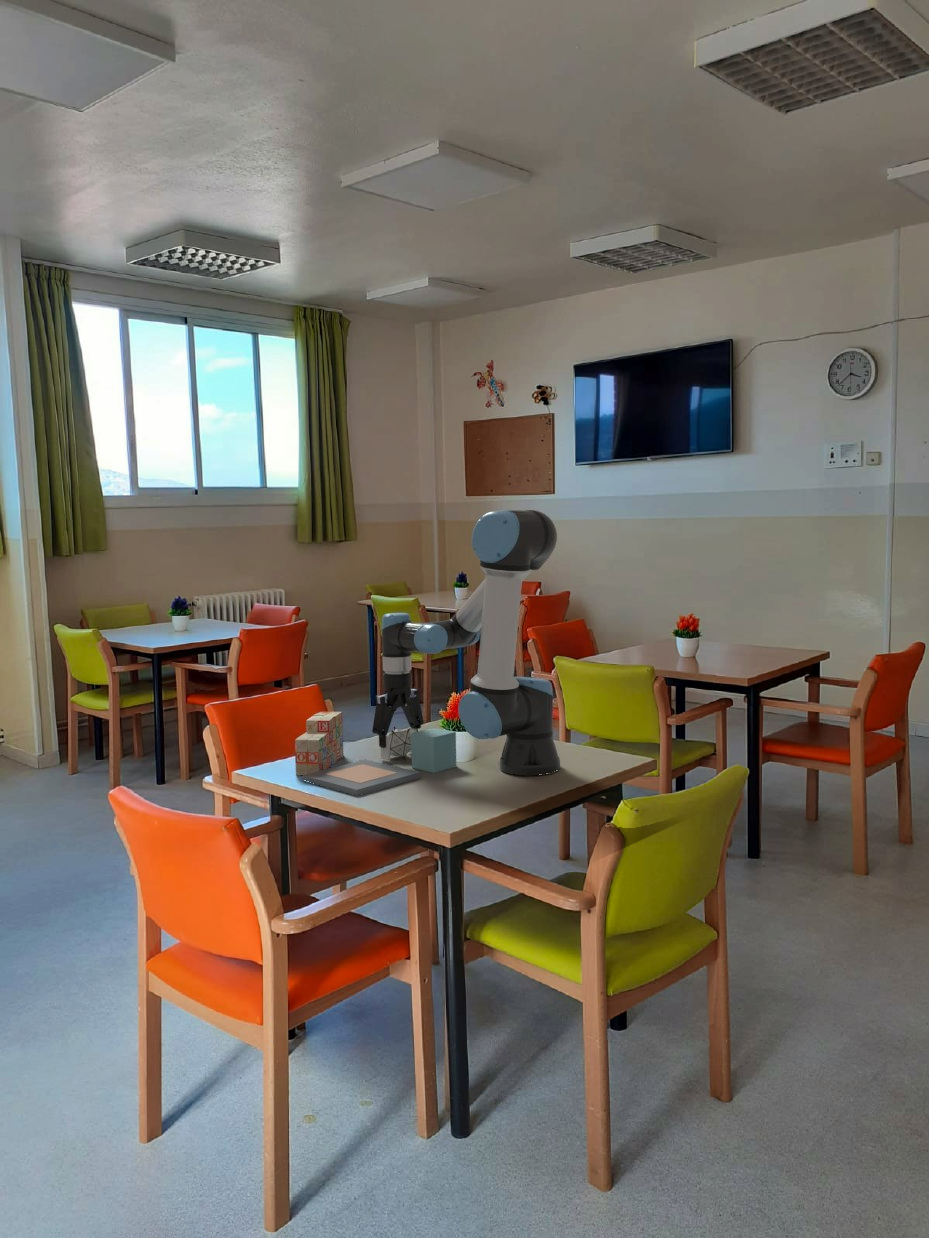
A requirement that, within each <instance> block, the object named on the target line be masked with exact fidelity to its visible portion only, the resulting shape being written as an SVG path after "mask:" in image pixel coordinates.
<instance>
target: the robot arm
mask: <svg viewBox="0 0 929 1238" xmlns="http://www.w3.org/2000/svg"><path fill="white" fill-rule="evenodd" d="M557 541H558V533H557V528H556V526H555V523H554V522H553V520H552V519H551V518H550V517H549V516H548V515H547V514H545V513H543V512H542V511H539V510H534V509H527V510H526V509H525V510H520V509H519V510H514V509H510V510H509V509H508V510H507V509H500V510H492V511H490V512H487V513H484V514H483V515H482V516H481V517H480V518H479V519H478V520H477V522H476V524H475V525H474V527H473V530H472V534H471V546H472V550H473V551H474V555H475V556H476V557H477V558H478V559H479V560H480V561H479V568H480V569H481V571H483V573H484V574H485V576H484V577H485V578H484V580H482V582H481V583H480V584H479V585H478V586H477V588H476V589H475V590H474V591H473V593H472V594H471V595H470V596H469V598H467V600H466V601H465V602H464V603H463V604H462V605H461V607H460V608H459V609H458V611H456V612H455V614H454V615H453V616H452V617H451V618H450V619H445V620H438V621H431V622H430V621H428V622H412V619H411V615H410V613H407V612H389V613H385V614H383V615H382V618H381V630H380V631H381V643H382V644H381V645H382V670H383V674H382V676H383V677H382V684H383V688H384V693H383V694H382V695H375V698H374V699H375V709H374V710H375V711H374V717H373V723H372V733H373V734H375V735H378V746H379V748H380V759H382V760H386V761H390V760H391V755H390V735H389V734H388V732H389V729H390V726H391V723H392V720H393V717H394V714H395V712H396V711H397V709H398V708H402V711H403V713H404V716H405V719H406V721H407V723H408V725H409V727H407V730H408V729H409V728H410V730H409V733H410V736H411V733H414V732H418V731H419V729H421V728H422V726H423V725H424V723H425V722H424V715H423V712H422V706H421V702H420V690H419V689H415V688H411V686H412V684H413V681H412V676H413V675H412V672H411V670H412V652H414V653H421V654H425V655H431V654H433V655H435V654H440V653H441V652H442V651H444V650H449V649H457V648H467V647H469V646H472V645H475V644H476V643H478V642H479V651H478V652H479V653H478V664H477V673H476V674H475V675H474V676H473V677H472V678H471V679H470V683H469V684H470V685H469V692H468V691H467V692H466V693H465V694H463V696H462V697H461V698H460V700H459V703H458V707H457V708H458V718H459V720H460V723H461V725H462V726H463V727H464V730H465V731H466V732H467V733H468V734H469V735H470V736H471V737H472V738H475V739H476V740H477V739H478V740H489V739H490V740H491V739H492V740H493V739H497V738H499V737H502V736H505V737H506V738H505V742H504V746H503V749H502V753H501V756H500V759H499V769H500V771H501V772H503V773H506V774H509V773H510V774H509V775H513V774H516V775H515V776H522V775H526V776H525V777H527V775H538V776H540V775H539V774H546V773H552V772H554V771H556V770H559V769H560V770H561V759H560V756H559V754H558V751H557V747H556V744H555V740H554V735H553V734H554V708H553V707H554V693H553V685H552V682H551V681H550V680H548V679H545V678H539V677H538V678H537V677H529V676H514V674H515V663H516V653H517V640H518V631H519V630H518V629H519V619H520V618H519V617H520V607H521V598H522V597H521V596H522V594H521V593H522V584H523V581H524V580H525V579H526V578H527V577H528V576H529V575H530V574H531V572H534V571H535V572H536V571H538V570H540V569H541V567H542V566H543V565H544V564H545V563H546V562H547V561H548V559H550V557H551V556H552V554H553V552H554V551H555V548H556V547H557ZM408 753H411V754H412V749H411V750H410V751H409V752H408ZM560 770H559V771H560ZM552 774H553V773H552Z"/></svg>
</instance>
